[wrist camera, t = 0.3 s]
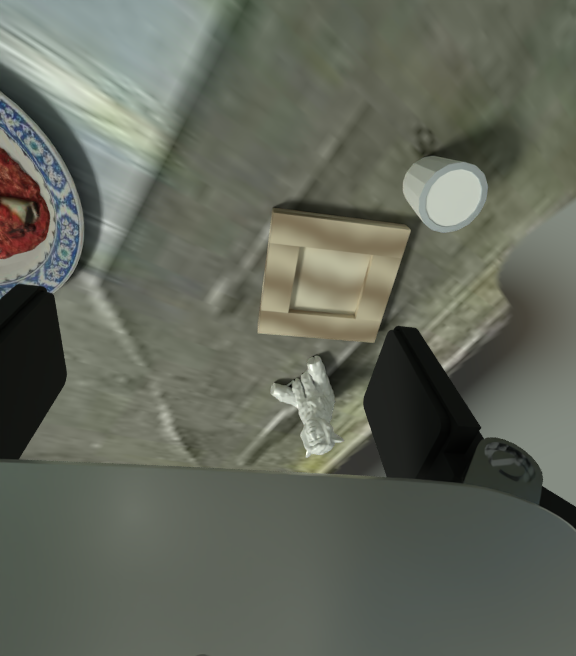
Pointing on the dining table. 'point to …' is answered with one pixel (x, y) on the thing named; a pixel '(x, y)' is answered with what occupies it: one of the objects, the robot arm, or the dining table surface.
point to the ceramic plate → (35, 206)
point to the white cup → (445, 192)
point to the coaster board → (328, 275)
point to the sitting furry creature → (312, 406)
